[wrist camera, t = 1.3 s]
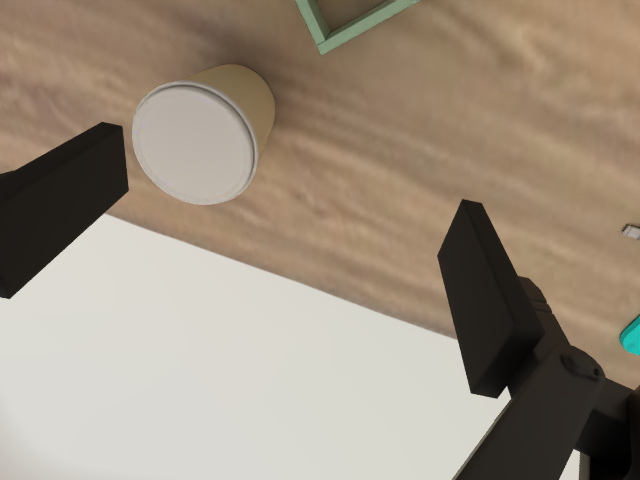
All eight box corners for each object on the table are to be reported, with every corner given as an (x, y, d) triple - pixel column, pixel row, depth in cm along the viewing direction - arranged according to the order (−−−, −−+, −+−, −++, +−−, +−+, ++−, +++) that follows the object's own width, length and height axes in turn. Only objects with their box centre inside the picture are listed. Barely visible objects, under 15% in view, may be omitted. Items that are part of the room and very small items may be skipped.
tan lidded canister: (175, 61, 37) (104, 93, 27) (273, 46, 35) (236, 74, 25) (205, 156, 42) (155, 213, 32) (292, 147, 40) (267, 203, 30)
